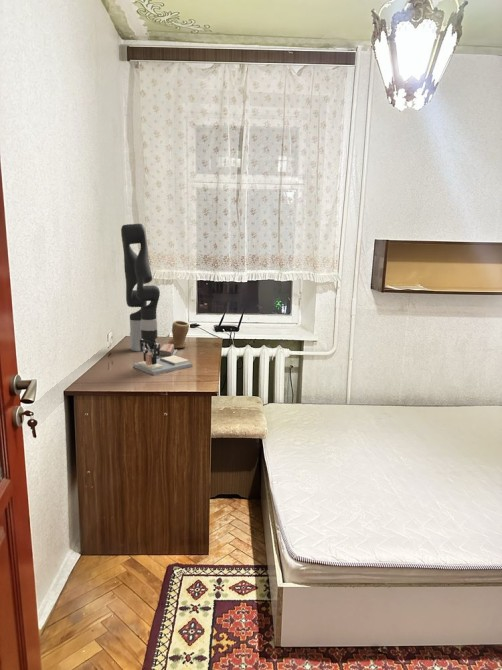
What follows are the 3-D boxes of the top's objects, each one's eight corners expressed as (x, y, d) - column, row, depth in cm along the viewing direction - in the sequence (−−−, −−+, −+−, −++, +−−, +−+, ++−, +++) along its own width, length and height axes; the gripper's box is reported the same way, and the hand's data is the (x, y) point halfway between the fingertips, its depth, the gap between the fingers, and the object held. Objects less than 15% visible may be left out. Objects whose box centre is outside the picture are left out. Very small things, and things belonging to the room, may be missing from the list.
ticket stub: (138, 364, 212) (138, 352, 211) (148, 362, 216) (148, 350, 215) (152, 369, 204) (151, 357, 203) (162, 367, 208) (162, 355, 207)
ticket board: (133, 366, 214) (133, 361, 214) (171, 358, 229) (171, 354, 229) (153, 375, 202) (153, 369, 201) (192, 366, 217) (192, 361, 216)
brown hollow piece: (189, 349, 250) (189, 323, 247) (168, 349, 248) (167, 323, 245) (188, 343, 264) (188, 318, 261) (168, 343, 263) (168, 318, 259)
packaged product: (159, 342, 245) (177, 343, 246) (159, 351, 247) (177, 351, 247) (153, 350, 228) (172, 351, 228) (153, 359, 229) (172, 360, 229)
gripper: (133, 327, 209) (135, 361, 212) (150, 331, 199) (151, 367, 202) (147, 325, 214) (148, 358, 217) (164, 329, 204) (165, 364, 207)
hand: (150, 362), depth 210 cm, fingers open, 6 cm apart
